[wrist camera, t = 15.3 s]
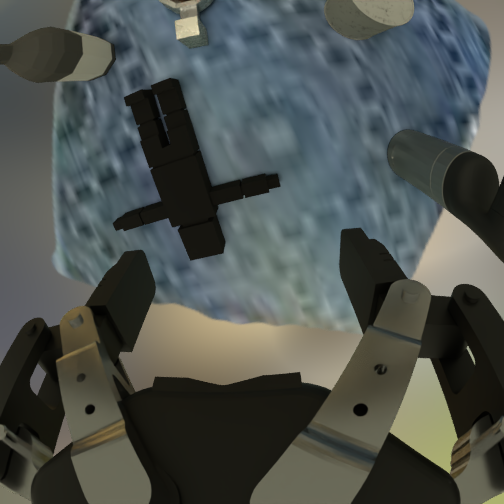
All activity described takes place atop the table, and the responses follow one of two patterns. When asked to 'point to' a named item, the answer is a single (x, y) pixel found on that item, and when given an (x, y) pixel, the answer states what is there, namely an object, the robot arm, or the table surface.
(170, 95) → the toy
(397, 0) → the speckled stone cylinder
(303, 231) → the table surface
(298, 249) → the table surface
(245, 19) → the table surface
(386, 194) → the table surface
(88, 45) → the wine bottle
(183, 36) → the mug
